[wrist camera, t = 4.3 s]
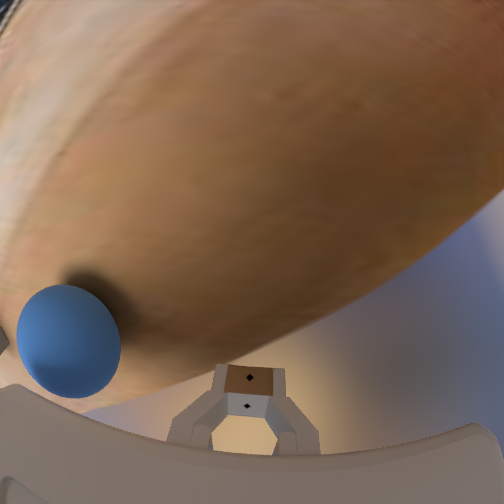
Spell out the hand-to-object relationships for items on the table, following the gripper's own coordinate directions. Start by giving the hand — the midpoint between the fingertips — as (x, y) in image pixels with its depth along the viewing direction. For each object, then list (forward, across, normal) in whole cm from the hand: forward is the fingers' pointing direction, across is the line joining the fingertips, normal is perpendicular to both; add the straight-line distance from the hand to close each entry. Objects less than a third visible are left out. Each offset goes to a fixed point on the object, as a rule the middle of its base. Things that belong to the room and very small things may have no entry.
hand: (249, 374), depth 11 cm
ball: (0, +9, 0) cm, 9 cm away
